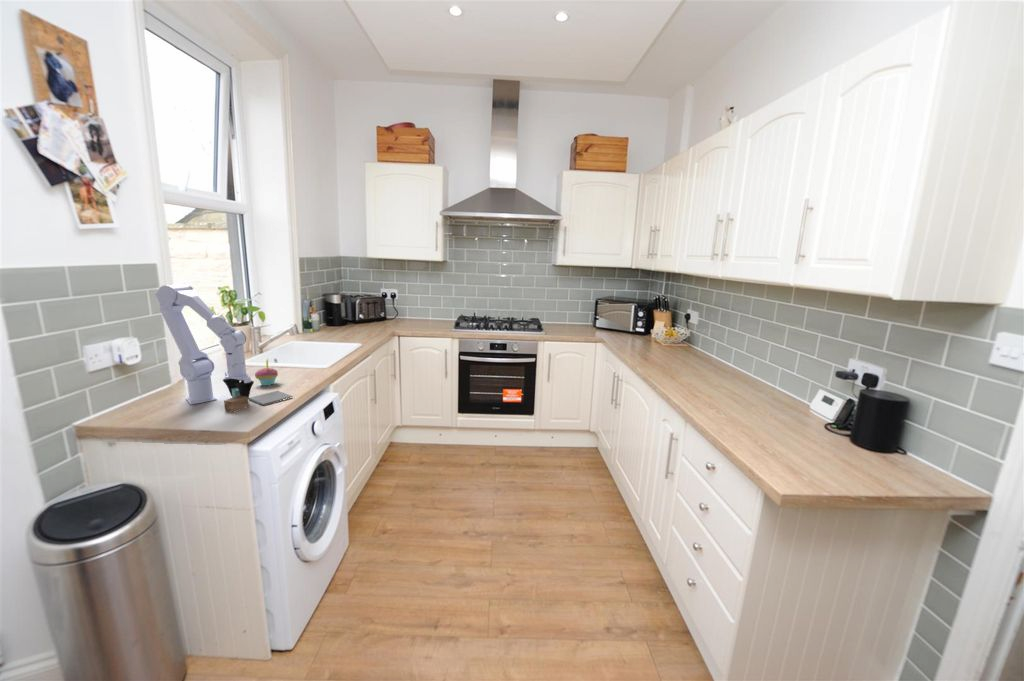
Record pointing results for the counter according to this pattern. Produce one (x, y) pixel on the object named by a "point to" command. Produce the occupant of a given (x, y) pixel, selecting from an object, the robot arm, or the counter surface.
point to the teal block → (235, 392)
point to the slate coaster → (269, 397)
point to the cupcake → (266, 375)
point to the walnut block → (236, 403)
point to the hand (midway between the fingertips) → (240, 397)
